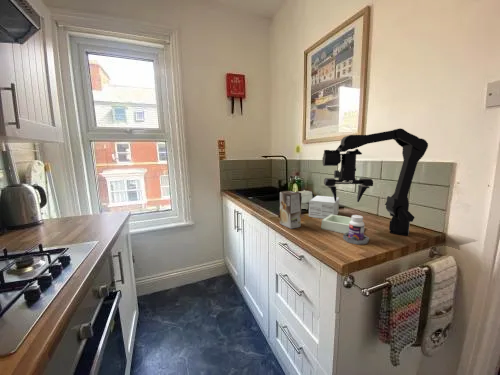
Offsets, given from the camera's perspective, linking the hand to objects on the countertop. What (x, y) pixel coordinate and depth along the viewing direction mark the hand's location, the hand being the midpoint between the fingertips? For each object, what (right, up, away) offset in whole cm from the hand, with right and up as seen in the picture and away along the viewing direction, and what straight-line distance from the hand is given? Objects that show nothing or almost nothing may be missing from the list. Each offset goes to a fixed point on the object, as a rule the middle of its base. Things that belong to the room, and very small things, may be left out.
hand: (346, 201), depth 95 cm
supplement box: (0, -9, +28) cm, 29 cm away
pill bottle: (0, -15, -8) cm, 17 cm away
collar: (0, -15, -9) cm, 17 cm away
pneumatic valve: (-9, -8, +39) cm, 41 cm away
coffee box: (-23, -12, +10) cm, 28 cm away
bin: (-1, -13, +5) cm, 14 cm away
